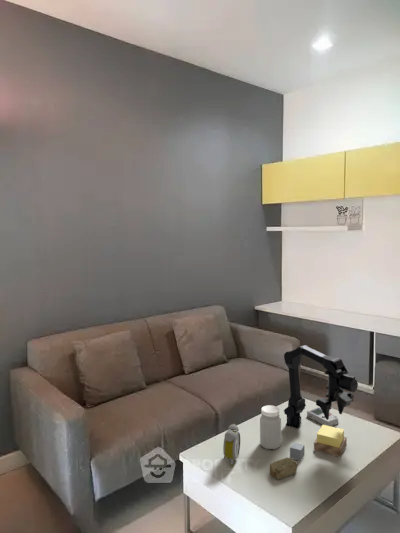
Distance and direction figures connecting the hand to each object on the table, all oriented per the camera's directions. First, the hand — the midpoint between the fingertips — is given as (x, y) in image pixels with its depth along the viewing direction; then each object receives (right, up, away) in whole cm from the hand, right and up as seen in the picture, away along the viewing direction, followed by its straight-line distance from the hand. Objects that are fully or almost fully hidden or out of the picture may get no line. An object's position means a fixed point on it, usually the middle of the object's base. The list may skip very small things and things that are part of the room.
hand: (333, 416), depth 191 cm
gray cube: (-19, -15, -8) cm, 26 cm away
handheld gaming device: (+2, -11, +25) cm, 28 cm away
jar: (-30, -14, +2) cm, 33 cm away
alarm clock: (-49, -16, -9) cm, 53 cm away
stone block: (-28, -17, -20) cm, 38 cm away
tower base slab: (-2, -14, -1) cm, 14 cm away
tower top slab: (-2, -10, -1) cm, 11 cm away
